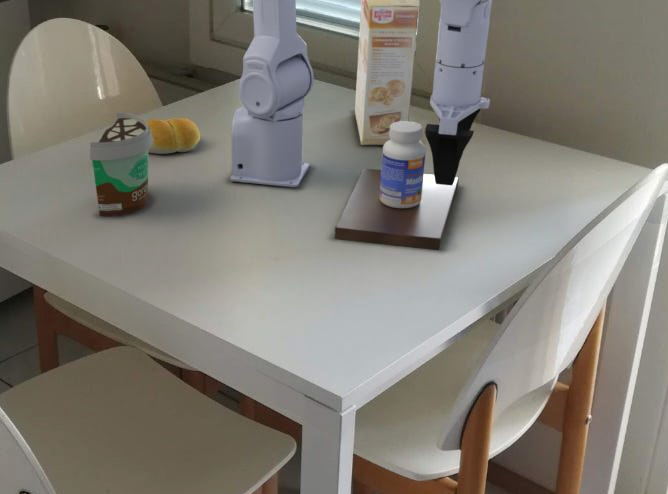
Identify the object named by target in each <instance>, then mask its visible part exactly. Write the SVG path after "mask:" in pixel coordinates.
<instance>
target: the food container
mask: <svg viewBox="0 0 668 494" xmlns="http://www.w3.org/2000/svg"><path fill="white" fill-rule="evenodd" d="M146 121H147V120H146V119H145V118H143V117H141V116H138V115H137V114H133V113H128V112H122V111H116V121H115V122H114V124H112V126H110V127H109V128H107V129H106V130H105V131H104V133H103V134H102V136H101V138H100V139H99V141H98V142H97V141H96V142H94V141H90V142H89V144H90V147H89V155H90V156H89V159H90V161H91V162H92V169H93V177H94V183H95V191H96V199H97V206H98V213H99V217H117V216H123V215H129V214H132V213H135V212H138V211H140V210H141V209H144V208H145V207H146V206H147V204H148V202H149V201H148V200H149V152H148V149H149V148H150V147H151V146H152V144H153V137H152V134H151V130H150V127H149V126H148V124H147V122H146Z"/></svg>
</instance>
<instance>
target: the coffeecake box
mask: <svg viewBox="0 0 668 494" xmlns="http://www.w3.org/2000/svg"><path fill="white" fill-rule="evenodd" d="M360 2H361V3H360V14H359V15H360V17H359V18H360V19H359V31H358V32H359V34H358V50H357V69H356V70H357V71H356V87H355V105H354V115H355V121H356V125H357V131H358V135H359V140H360V145H361V146H384V144H385V143H386V142H387V141H389V140H391V139H390V137H389V130H390V125H391V124H392V123H395V122H399V121H410V113H411V112H410V111H411V102H412V101H411V100H412V88H413V79H414V66H415V56H416V55H415V54H416V43H417V42H416V40H417V30H418V21H419V20H418V19H419V11H420V4H419V2H418V0H361V1H360Z"/></svg>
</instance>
